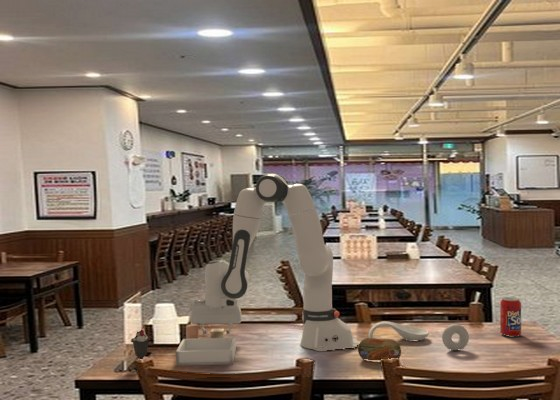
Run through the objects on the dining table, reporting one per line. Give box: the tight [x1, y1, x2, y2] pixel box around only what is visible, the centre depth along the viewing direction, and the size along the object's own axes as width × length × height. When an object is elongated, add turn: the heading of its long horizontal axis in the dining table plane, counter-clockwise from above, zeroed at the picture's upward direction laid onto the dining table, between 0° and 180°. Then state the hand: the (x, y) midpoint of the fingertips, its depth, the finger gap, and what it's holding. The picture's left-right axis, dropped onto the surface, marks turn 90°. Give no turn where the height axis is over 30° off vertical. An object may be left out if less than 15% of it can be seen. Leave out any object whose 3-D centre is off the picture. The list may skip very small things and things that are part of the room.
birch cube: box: [210, 328, 225, 338], centre depth 230 cm, size 5×5×5 cm
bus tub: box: [175, 337, 237, 367], centre depth 211 cm, size 20×16×5 cm
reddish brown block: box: [185, 323, 200, 339], centre depth 230 cm, size 5×5×7 cm
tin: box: [357, 337, 402, 361], centre depth 203 cm, size 15×3×8 cm, turn 68°
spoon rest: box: [368, 320, 430, 341], centre depth 229 cm, size 24×12×7 cm, turn 87°
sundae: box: [130, 326, 151, 360], centre depth 202 cm, size 7×7×15 cm
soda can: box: [499, 296, 522, 337], centre depth 231 cm, size 8×8×15 cm
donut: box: [441, 323, 470, 351], centre depth 213 cm, size 10×3×10 cm, turn 95°
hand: (216, 334), depth 230 cm, fingers open, 8 cm apart
